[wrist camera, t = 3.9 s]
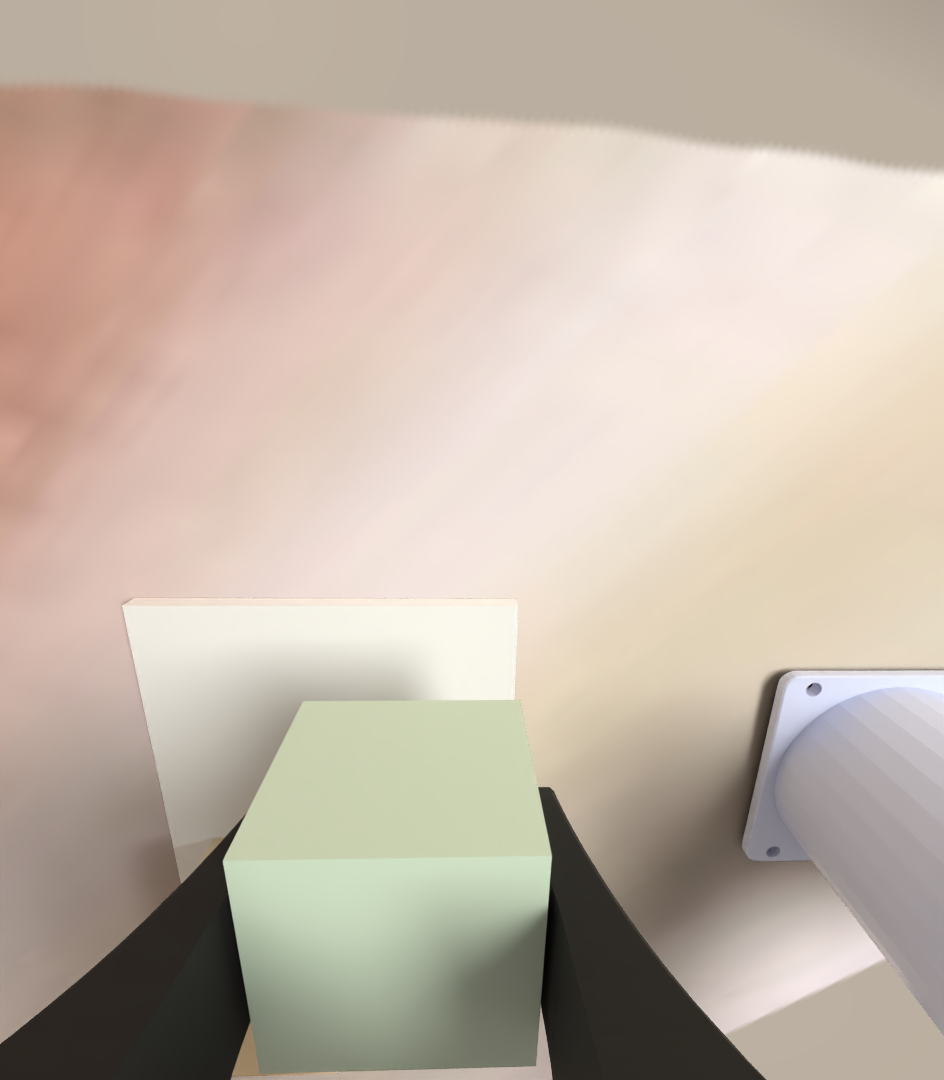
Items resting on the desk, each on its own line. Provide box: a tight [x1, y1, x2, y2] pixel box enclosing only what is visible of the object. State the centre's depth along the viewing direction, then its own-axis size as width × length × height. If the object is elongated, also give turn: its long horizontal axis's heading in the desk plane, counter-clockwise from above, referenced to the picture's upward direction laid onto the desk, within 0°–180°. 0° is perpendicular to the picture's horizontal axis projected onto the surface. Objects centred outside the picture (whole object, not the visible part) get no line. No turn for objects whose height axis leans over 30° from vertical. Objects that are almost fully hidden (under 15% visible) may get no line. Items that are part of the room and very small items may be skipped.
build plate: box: [122, 598, 518, 884], centre depth 18 cm, size 12×17×1 cm
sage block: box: [223, 700, 552, 1074], centre depth 10 cm, size 5×5×4 cm
